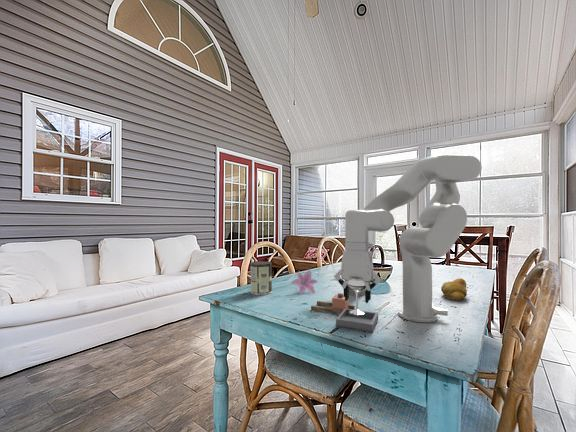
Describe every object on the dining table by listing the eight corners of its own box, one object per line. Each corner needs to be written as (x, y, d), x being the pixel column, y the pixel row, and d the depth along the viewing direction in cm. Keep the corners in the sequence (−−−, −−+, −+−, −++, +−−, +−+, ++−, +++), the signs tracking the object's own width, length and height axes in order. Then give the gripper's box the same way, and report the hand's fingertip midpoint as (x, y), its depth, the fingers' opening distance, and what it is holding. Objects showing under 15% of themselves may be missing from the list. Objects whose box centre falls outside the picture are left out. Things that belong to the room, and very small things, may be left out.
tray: (378, 320, 97) (378, 312, 97) (372, 332, 87) (372, 324, 87) (344, 315, 102) (344, 308, 102) (336, 326, 92) (335, 319, 92)
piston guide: (354, 309, 109) (354, 305, 109) (348, 318, 99) (348, 313, 99) (317, 304, 115) (317, 300, 115) (308, 312, 106) (308, 308, 106)
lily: (287, 294, 134) (290, 279, 129) (295, 280, 144) (298, 265, 139) (311, 304, 131) (315, 288, 126) (317, 288, 141) (321, 273, 136)
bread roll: (468, 303, 114) (468, 284, 114) (441, 300, 119) (441, 281, 119) (466, 295, 125) (465, 277, 125) (441, 293, 130) (441, 275, 130)
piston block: (348, 309, 108) (348, 292, 108) (345, 313, 104) (345, 296, 104) (335, 307, 110) (335, 291, 110) (332, 311, 106) (332, 294, 106)
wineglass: (352, 307, 99) (352, 273, 99) (370, 311, 95) (370, 276, 95) (342, 312, 94) (342, 276, 94) (362, 317, 89) (362, 279, 90)
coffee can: (262, 288, 142) (262, 260, 142) (276, 291, 135) (276, 262, 135) (246, 292, 135) (245, 262, 135) (260, 296, 128) (259, 265, 128)
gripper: (385, 246, 94) (385, 300, 94) (334, 244, 101) (334, 294, 101) (382, 249, 87) (382, 307, 87) (328, 246, 95) (328, 300, 95)
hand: (356, 300), depth 94 cm, fingers closed on wineglass, 6 cm apart
